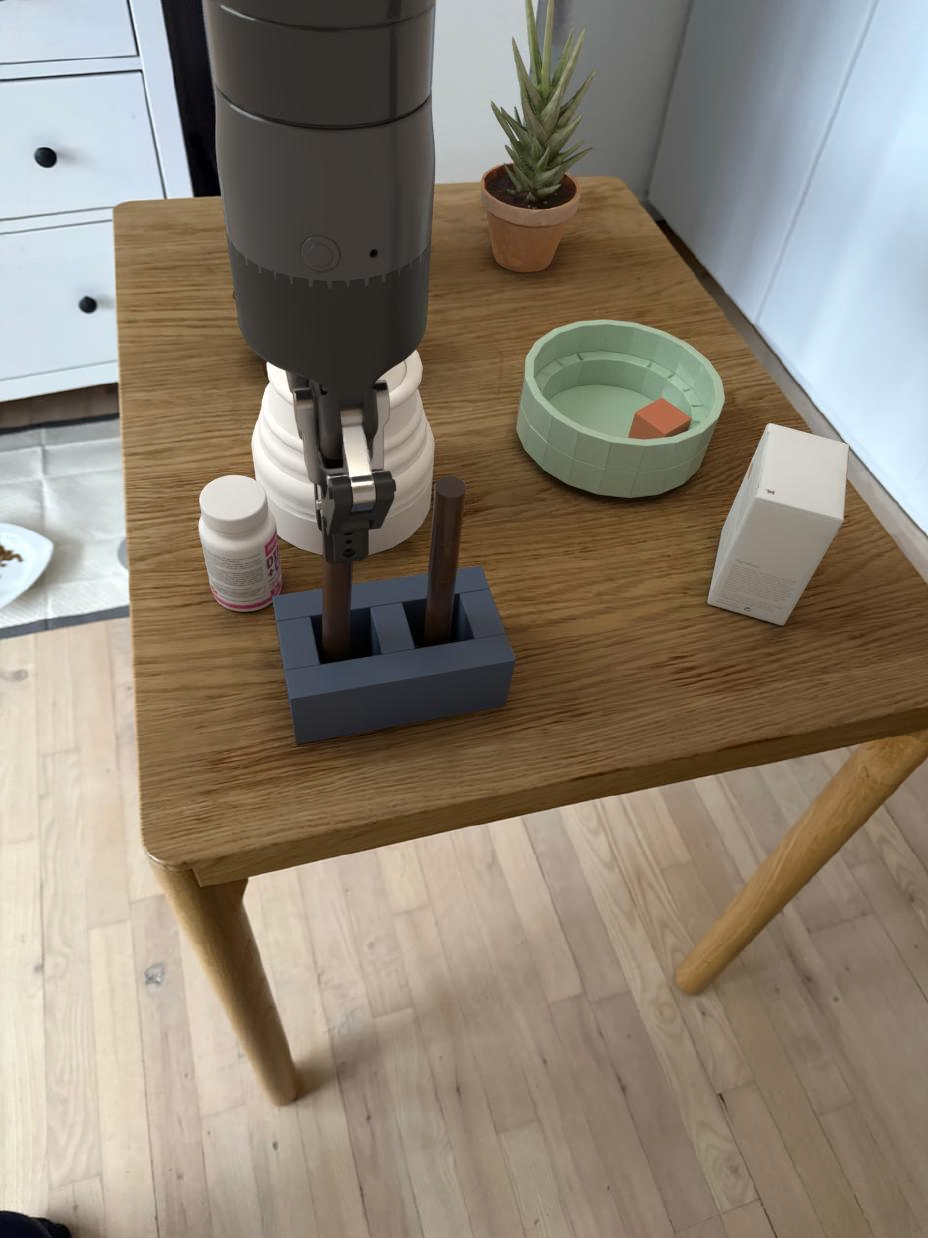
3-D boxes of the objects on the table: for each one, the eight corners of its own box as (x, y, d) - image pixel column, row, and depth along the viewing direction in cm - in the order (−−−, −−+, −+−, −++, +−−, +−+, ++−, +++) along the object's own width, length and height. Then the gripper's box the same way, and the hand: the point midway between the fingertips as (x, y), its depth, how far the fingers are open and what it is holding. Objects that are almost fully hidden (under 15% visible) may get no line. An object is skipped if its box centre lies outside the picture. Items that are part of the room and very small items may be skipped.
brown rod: (342, 651, 55) (349, 454, 43) (352, 671, 54) (362, 476, 42) (317, 659, 55) (317, 461, 42) (327, 679, 54) (330, 483, 41)
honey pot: (455, 536, 65) (478, 319, 51) (280, 573, 61) (252, 351, 47) (401, 424, 72) (408, 207, 58) (242, 452, 69) (208, 227, 54)
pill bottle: (288, 607, 60) (278, 518, 53) (216, 620, 58) (196, 530, 52) (277, 555, 62) (265, 465, 56) (207, 566, 61) (187, 475, 55)
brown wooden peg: (437, 654, 58) (455, 471, 46) (450, 671, 57) (472, 491, 45) (416, 663, 58) (429, 481, 45) (429, 681, 57) (445, 501, 44)
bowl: (623, 361, 80) (639, 301, 75) (740, 466, 72) (766, 407, 68) (479, 410, 74) (486, 349, 69) (590, 530, 66) (606, 470, 62)
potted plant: (466, 232, 91) (491, -59, 72) (555, 230, 93) (602, -55, 74) (485, 286, 85) (517, -15, 66) (579, 283, 87) (638, -12, 68)
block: (625, 443, 72) (634, 411, 69) (651, 428, 73) (661, 396, 71) (655, 465, 70) (665, 434, 68) (681, 449, 72) (692, 418, 69)
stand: (278, 644, 58) (272, 595, 54) (474, 613, 61) (481, 564, 57) (296, 744, 53) (290, 699, 49) (506, 706, 56) (516, 660, 52)
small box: (782, 629, 62) (846, 523, 54) (703, 605, 63) (754, 497, 54) (793, 550, 67) (853, 442, 59) (720, 529, 68) (768, 419, 59)
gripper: (478, 316, 29) (444, 633, 43) (391, 127, 37) (386, 445, 51) (246, 335, 28) (287, 659, 41) (207, 133, 36) (252, 460, 49)
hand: (342, 540), depth 46 cm, fingers closed on brown rod, 1 cm apart
